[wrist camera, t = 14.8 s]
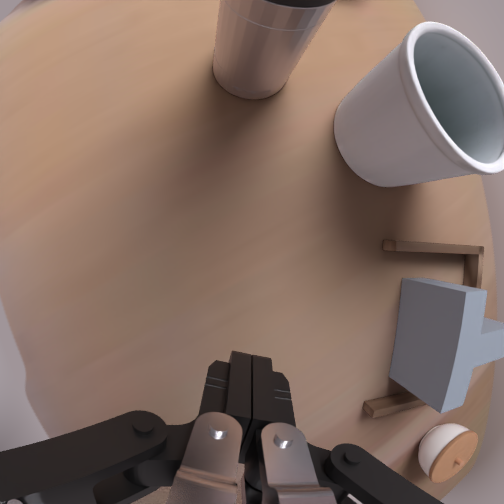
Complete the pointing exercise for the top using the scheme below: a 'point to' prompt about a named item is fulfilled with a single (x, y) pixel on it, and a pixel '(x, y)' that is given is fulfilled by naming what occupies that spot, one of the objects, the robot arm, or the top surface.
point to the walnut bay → (470, 279)
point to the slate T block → (442, 340)
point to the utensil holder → (424, 112)
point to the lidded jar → (446, 450)
